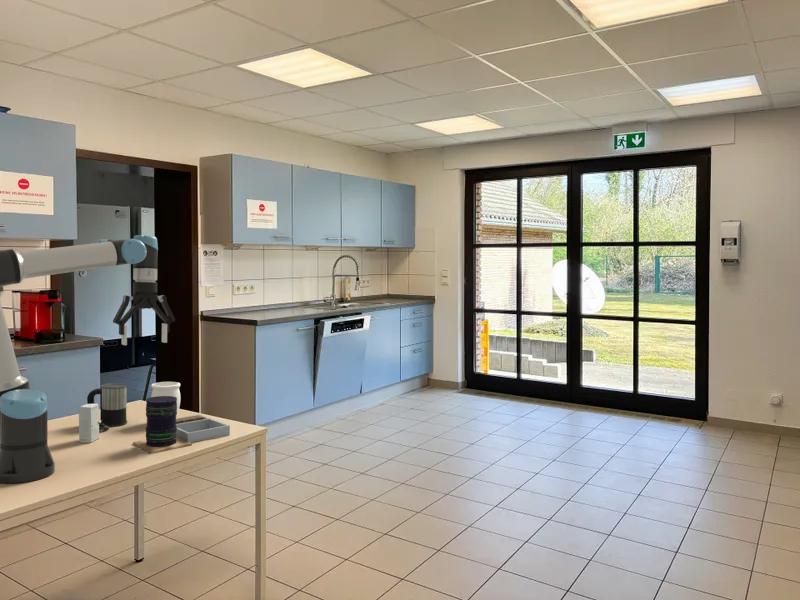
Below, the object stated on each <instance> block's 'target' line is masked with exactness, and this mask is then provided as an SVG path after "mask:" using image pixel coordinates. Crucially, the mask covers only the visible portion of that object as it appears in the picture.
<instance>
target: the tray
mask: <svg viewBox="0 0 800 600" xmlns="http://www.w3.org/2000/svg"><path fill="white" fill-rule="evenodd" d="M196 415H197V414H194V415H192V416H196ZM199 415H200V416H203V417H204V419H203V420H198V421H192V422H186V423H180V424H176V426H177V435H176V436H177V437H179V438H181V439H183V440H186V441H188V442H190V443H196V442H200V441H206V440H211V439H216V438H221V437H226V436H230V435H231V433H230V431H231V430H230V429H231V426H230V425H229V424H227V423H224V422H221V421H218V420H215V419H214V418H213V419H212V418H210V417H207V416H204V415H202V414H199ZM189 416H190V415H188V416H186V417H189ZM184 417H185V416H182V417H176V419H179V418H184Z"/></svg>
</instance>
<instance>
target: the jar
mask: <svg viewBox="0 0 800 600" xmlns="http://www.w3.org/2000/svg"><path fill="white" fill-rule="evenodd" d="M180 387H181V383H180V382H178V381H177V382H176V381H160V382H153V383H152V384H151V388H152V390H151V391H152V392H151V395H150V398H151V397H157V396H172V397H176V398H177V401H176V402H177V415H176V418H178V414H179V412H180V406H181V392H180Z"/></svg>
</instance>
